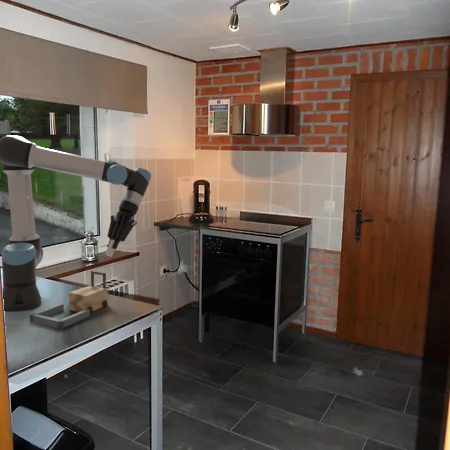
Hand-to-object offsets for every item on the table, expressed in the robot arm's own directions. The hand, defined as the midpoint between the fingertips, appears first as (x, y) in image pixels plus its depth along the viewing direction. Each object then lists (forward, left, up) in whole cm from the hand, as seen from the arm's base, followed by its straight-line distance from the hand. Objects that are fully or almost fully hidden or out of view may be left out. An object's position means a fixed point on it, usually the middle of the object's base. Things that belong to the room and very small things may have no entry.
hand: (108, 255), depth 183 cm
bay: (-1, -25, -18) cm, 31 cm away
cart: (0, -11, -19) cm, 22 cm away
